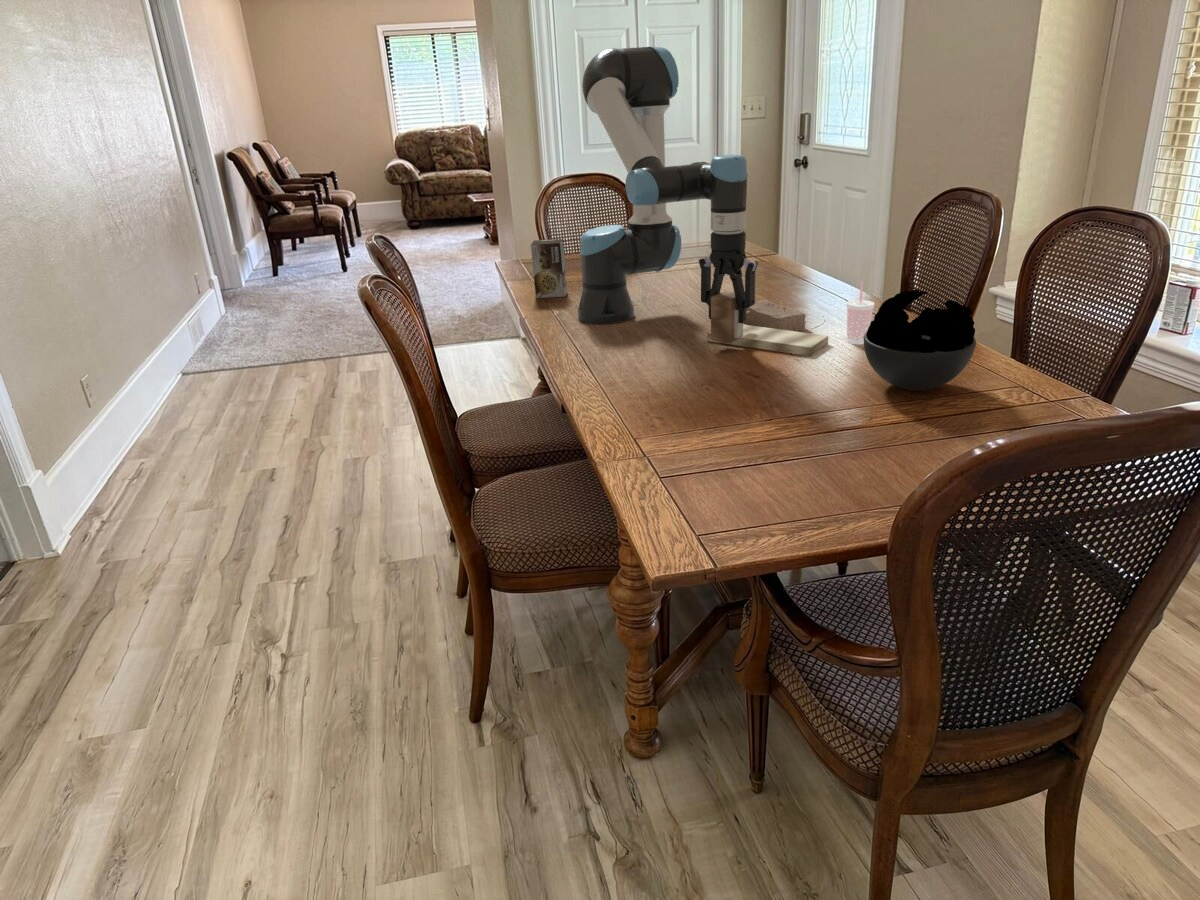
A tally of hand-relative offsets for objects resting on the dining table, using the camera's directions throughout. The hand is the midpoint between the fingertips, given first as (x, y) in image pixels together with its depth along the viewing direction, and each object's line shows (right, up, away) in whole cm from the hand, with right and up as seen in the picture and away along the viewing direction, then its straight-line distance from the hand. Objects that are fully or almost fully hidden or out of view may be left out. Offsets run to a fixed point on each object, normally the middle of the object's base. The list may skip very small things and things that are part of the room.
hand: (727, 334), depth 183 cm
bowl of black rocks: (+32, -14, -27) cm, 44 cm away
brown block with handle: (+2, +1, +3) cm, 4 cm away
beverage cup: (+30, -2, +2) cm, 30 cm away
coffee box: (-44, +20, +59) cm, 76 cm away
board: (+10, -1, +4) cm, 11 cm away
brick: (+14, +5, +18) cm, 23 cm away
